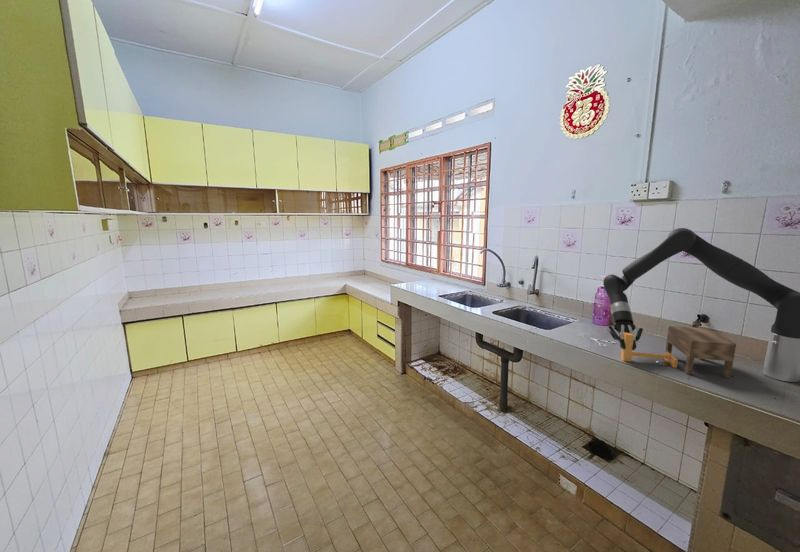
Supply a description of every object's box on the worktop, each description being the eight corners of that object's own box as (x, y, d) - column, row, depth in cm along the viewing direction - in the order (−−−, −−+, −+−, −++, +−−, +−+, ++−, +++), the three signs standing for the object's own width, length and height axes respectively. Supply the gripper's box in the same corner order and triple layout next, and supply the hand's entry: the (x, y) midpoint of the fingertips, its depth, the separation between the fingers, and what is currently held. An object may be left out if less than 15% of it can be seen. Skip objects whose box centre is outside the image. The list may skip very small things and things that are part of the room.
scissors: (607, 347, 157) (569, 334, 174) (607, 349, 157) (568, 336, 174) (620, 343, 162) (581, 331, 179) (620, 344, 162) (581, 332, 179)
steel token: (665, 361, 143) (666, 359, 142) (671, 366, 138) (671, 364, 138) (652, 360, 144) (652, 358, 144) (657, 365, 139) (657, 363, 139)
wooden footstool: (702, 358, 144) (707, 328, 142) (730, 378, 127) (736, 344, 125) (664, 355, 148) (668, 325, 145) (686, 374, 131) (691, 341, 128)
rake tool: (667, 359, 144) (670, 333, 141) (676, 367, 136) (680, 340, 134) (618, 355, 149) (621, 330, 147) (625, 363, 141) (628, 336, 139)
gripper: (606, 308, 150) (613, 344, 140) (642, 310, 146) (651, 347, 137) (601, 316, 156) (607, 351, 146) (636, 318, 152) (644, 353, 143)
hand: (628, 349), depth 142 cm, fingers closed on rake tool, 3 cm apart
